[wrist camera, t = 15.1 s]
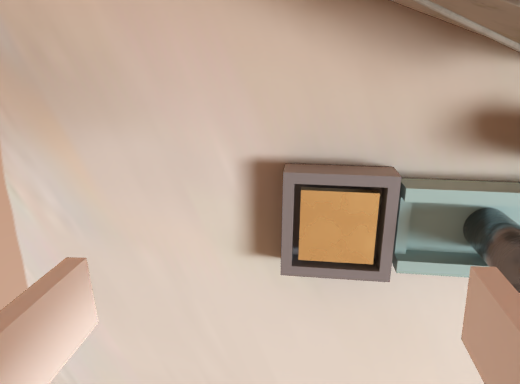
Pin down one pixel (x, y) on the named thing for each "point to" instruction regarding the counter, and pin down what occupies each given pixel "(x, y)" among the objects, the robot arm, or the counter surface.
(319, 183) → the grey square tray
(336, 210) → the orange square tile
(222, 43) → the counter surface
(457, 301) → the counter surface
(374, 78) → the counter surface
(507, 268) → the cell
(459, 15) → the geiger counter
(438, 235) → the trough
